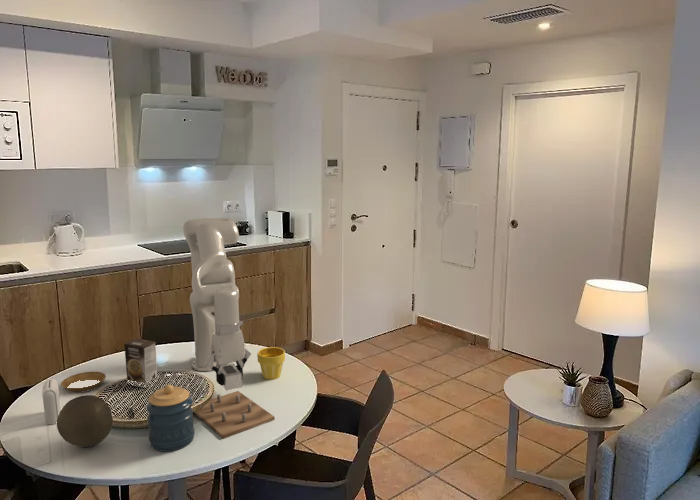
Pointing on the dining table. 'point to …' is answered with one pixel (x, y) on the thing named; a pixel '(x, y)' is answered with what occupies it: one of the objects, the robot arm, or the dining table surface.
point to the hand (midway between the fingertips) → (229, 380)
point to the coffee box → (140, 360)
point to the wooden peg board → (233, 414)
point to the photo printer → (51, 401)
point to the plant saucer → (83, 377)
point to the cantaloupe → (85, 421)
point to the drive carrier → (231, 377)
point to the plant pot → (271, 362)
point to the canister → (170, 419)
